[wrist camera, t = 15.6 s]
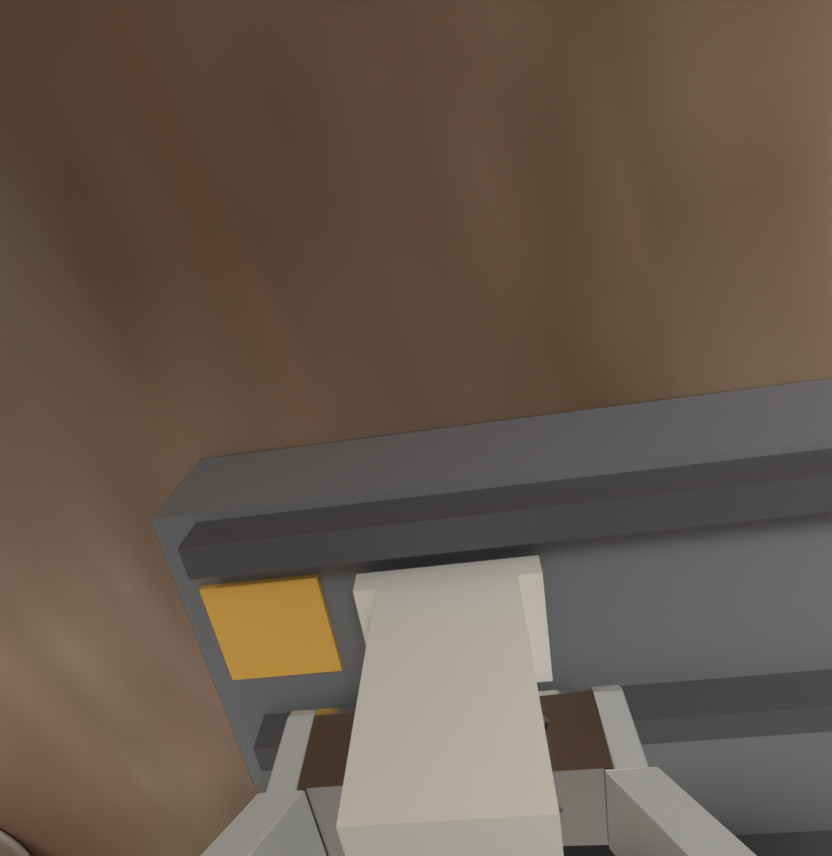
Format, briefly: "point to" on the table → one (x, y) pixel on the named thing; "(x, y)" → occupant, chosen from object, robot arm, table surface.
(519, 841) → the tab
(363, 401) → the table surface
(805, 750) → the switch board
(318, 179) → the table surface
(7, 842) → the lidded jar
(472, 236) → the table surface
